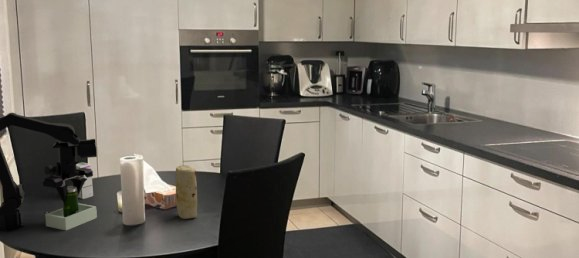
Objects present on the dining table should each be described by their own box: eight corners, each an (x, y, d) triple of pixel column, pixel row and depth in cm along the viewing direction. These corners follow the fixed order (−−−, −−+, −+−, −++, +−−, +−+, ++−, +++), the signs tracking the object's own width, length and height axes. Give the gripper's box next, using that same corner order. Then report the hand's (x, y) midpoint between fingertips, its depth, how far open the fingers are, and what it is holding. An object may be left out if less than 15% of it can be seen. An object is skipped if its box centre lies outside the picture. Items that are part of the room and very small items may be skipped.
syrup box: (93, 196, 239) (91, 163, 237) (82, 199, 234) (80, 166, 232) (85, 194, 242) (83, 161, 240) (73, 197, 237) (71, 164, 235)
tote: (66, 230, 198) (65, 218, 198) (46, 226, 203) (45, 214, 202) (96, 217, 212) (96, 206, 211) (77, 214, 216) (76, 202, 215)
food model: (201, 216, 214) (200, 166, 210) (189, 221, 208) (188, 169, 205) (183, 212, 219) (181, 162, 215) (170, 216, 213) (169, 166, 210)
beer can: (80, 216, 210) (79, 185, 208) (76, 221, 204) (74, 189, 202) (66, 216, 209) (64, 185, 207) (61, 221, 204) (59, 189, 202)
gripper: (71, 151, 215) (73, 190, 217) (30, 161, 198) (33, 203, 201) (92, 154, 210) (95, 194, 213) (53, 165, 193) (56, 208, 196)
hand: (70, 199), depth 206 cm, fingers closed on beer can, 5 cm apart
